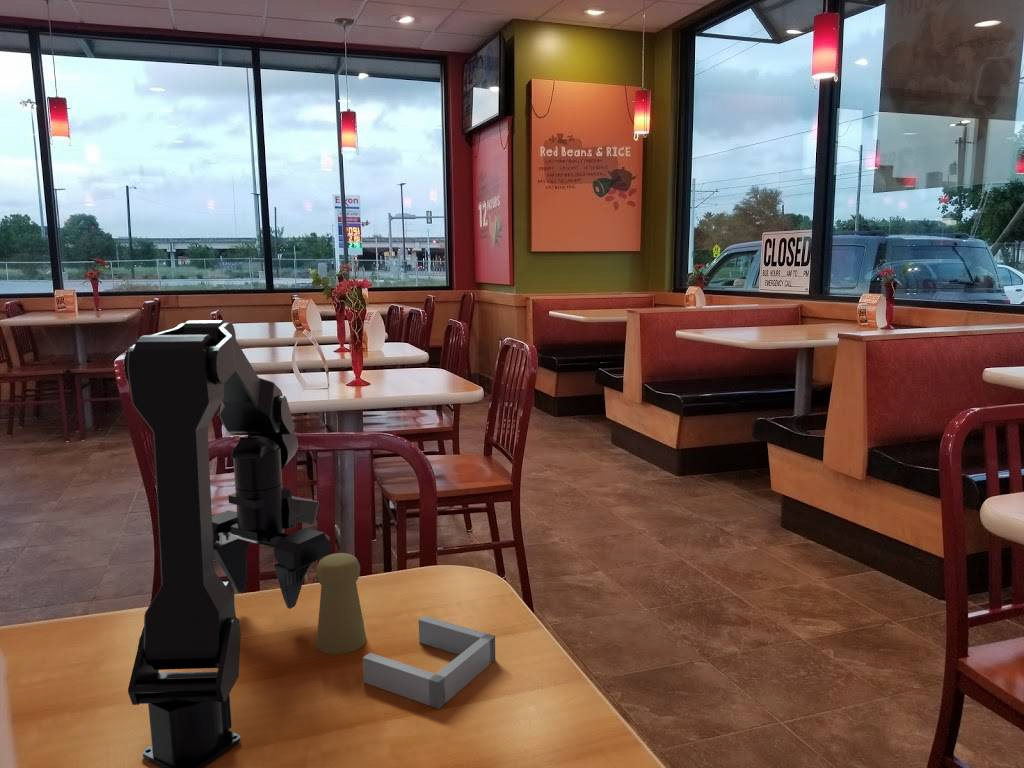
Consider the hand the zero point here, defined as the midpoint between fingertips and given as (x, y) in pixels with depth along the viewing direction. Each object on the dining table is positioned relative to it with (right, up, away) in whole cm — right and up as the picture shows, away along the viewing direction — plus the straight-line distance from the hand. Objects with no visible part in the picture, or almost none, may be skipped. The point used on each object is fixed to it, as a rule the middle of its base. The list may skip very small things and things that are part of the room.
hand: (266, 599), depth 101 cm
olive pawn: (+11, -4, -6) cm, 13 cm away
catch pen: (+22, -5, -12) cm, 26 cm away
